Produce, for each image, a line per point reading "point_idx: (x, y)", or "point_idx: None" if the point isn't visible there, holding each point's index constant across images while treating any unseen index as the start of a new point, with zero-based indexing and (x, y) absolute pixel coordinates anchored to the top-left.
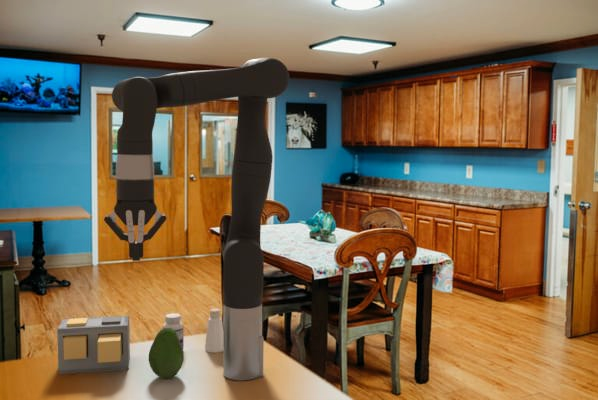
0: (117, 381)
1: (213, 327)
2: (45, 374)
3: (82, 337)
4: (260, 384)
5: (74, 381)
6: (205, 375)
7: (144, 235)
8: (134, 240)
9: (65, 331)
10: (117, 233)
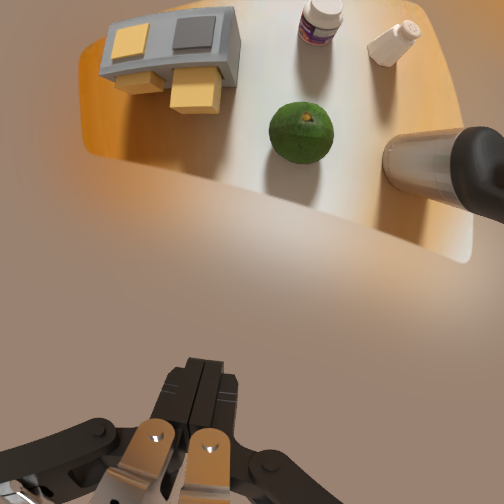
0: (218, 132)
1: (396, 48)
2: (119, 91)
3: (144, 80)
4: (417, 210)
5: (156, 120)
6: (357, 148)
7: (235, 490)
8: (182, 466)
9: (113, 74)
10: (89, 471)
